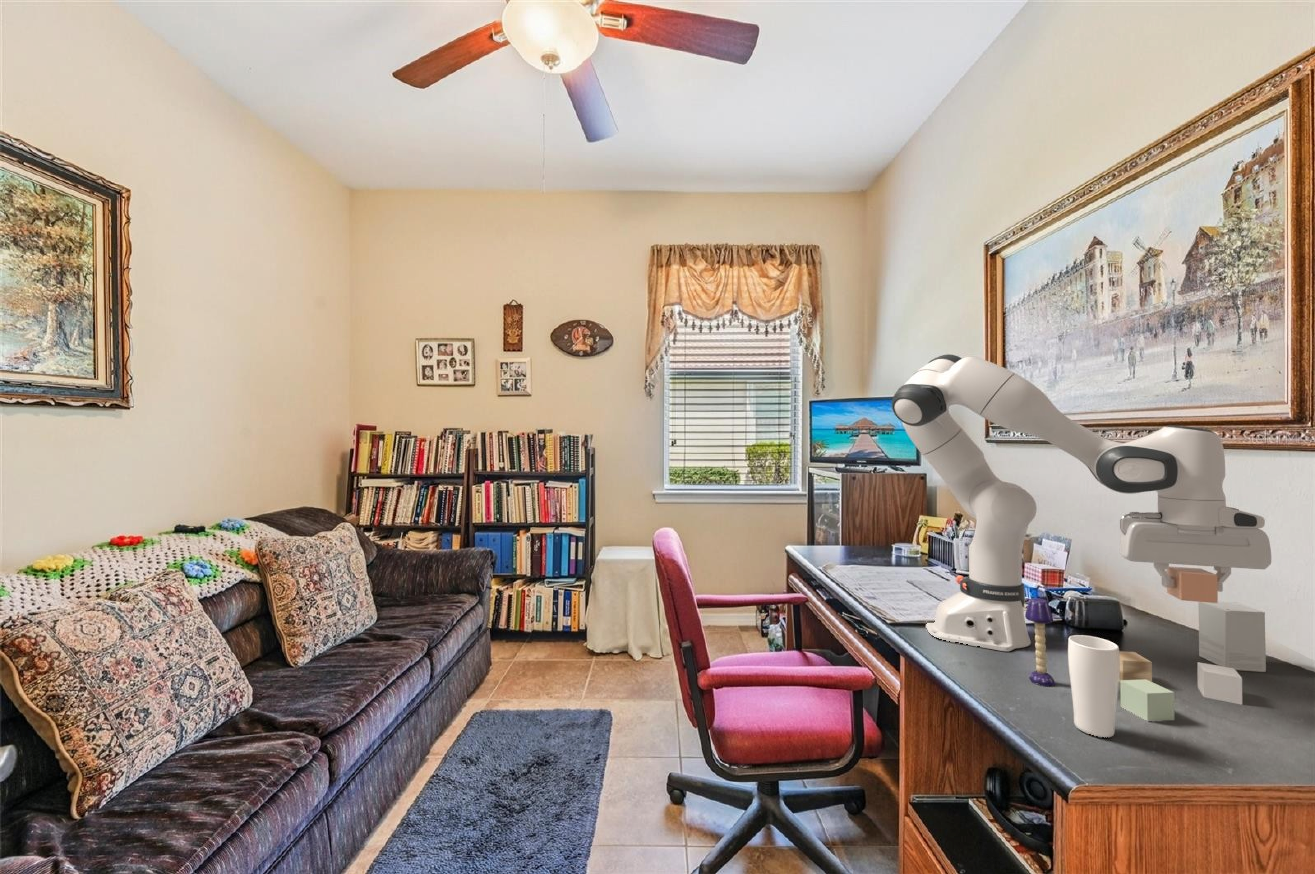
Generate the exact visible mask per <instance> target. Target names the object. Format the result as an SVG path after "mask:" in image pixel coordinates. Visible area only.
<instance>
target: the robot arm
mask: <svg viewBox="0 0 1315 874" xmlns="http://www.w3.org/2000/svg"><path fill="white" fill-rule="evenodd" d="M890 404H891V410H892V412H893V414H894V415H895V417H896V418H897V419H898V420H899V421H900V422H901V423H902V426H903V428H904V430H905V432H906V434H907V435H908V437H909V439H910V440H911V442H912V443H913V444H914V446H915V447H916V449H917V450H918V451H919V452H920V454H921V455H922V456H923V457H924V458H925V459H926V460H927V462H928V463H929V464H930V465H931V467H932V468H933V469H934V470H935V471H936V473H937V474H938V475H939V477H941V479H942V480H943V481H944V483H945V484H946V486H947V487H948V489H949V490H950V492H951V494H952V495H953V496H954V498H955V499H956V501H957V502H958V503H959V505H960V506H961V508H962V509H963V511H964V512H965V513H966V514H967V515H968V516H970V517H971V518H973V519H975V520H976V524H975V528H974V529H975V530H974V535H973V538H972V541H971V543H970V544H969V545H968V576H967V577H964V576H963V575H957V576H955V581H956V582H957V584H958V585H959V589H960V590H959V591H958V592H957V593H955V594H953V595H951V596H950V597H949V596H948V597H947V598H945V599H944V600H942V601H941V602H939V604H938V605H937V608H936V611H935V616H934V618H935V622H934V623H927V624H926V623H925V629H926V628H927V630H928V632H929V633H930V634H931V635H933V636H934V637H937V638H939V639H942V640H941V641H943V640H946V641H945V642H949V641H950V642H949V643H955V642H959V643H958V644H960V643H963V644H962V645H966V644H968V645H967V646H973V647H977V646H980V647H979V648H984V649H989V650H990V649H991V650H994V651H995V650H996V651H1000V652H1001V651H1002V652H1010V651H1013V650H1015V649H1022V648H1026V647H1028V646H1030V645H1031V643H1032V641H1031V639H1030V636H1029V633H1028V629H1027V625H1026V620H1025V619H1026V617H1025V613H1024V607H1025V603H1026V589H1025V584H1024V583H1023V580H1022V579H1023V578H1022V577H1023V571H1022V570H1023V548H1024V542H1025V539H1026V535H1027V531H1028V528H1029V525H1030V524H1031V523H1032V522H1033V521H1034V519H1035V517H1036V513H1037V511H1038V510H1037V509H1038V508H1037V503H1036V501H1035V499H1034V497H1033V495H1031V494H1030V493H1029V492H1028V491H1027V490H1026V489H1024V488H1023V487H1021V485H1017V484H1016V483H1012V482H1006V481H1003V480H1001V479H1000V478H999V477H997V476H996V475H995V473H994V471H993V470H992V468H991V467H990V466H989V465H990V464H988V462H987V460H986V458H985V455H984V453H983V451H982V450H981V449H980V448H979V446H978V445H977V444H976V443H975V442H974V440H972V438H971V437H970V435H968V434H967V432H966V431H965V430H964V429H963V428H962V427H961V426H960V424H958V422H957V421H956V420H955V419H954V418H953V416H951V414H950V411H949V409H950V407H951V406H954V405H960V406H962V407H963V406H964V407H965V408H967V409H969V410H970V411H972V412H974V413H975V414H977V415H978V416H980V417H981V418H983V419H985V420H987V421H988V422H991V423H993V424H994V425H997V426H1000V427H1002V428H1004V429H1007V430H1009V431H1011V432H1016V433H1021V434H1025V435H1030V436H1033V437H1036V438H1039V439H1042V440H1044V441H1046V442H1048V443H1049V444H1051V445H1053V446H1055V447H1057V448H1058V449H1060V450H1062V451H1064V452H1065V453H1067V454H1068V455H1070V456H1072V457H1074V458H1075V459H1076V460H1078V461H1080V462H1081V463H1083V464H1084V465H1085V466H1086V467H1087V468H1088V470H1089V471H1090V473H1091V474H1092V476H1093V477H1094V478H1095V480H1096V481H1097V482H1099V483H1100V484H1101V485H1103V486H1105V487H1106V488H1107V489H1109V490H1111V491H1112V492H1113V491H1114V492H1116V493H1120V494H1124V495H1125V494H1127V495H1129V494H1130V495H1135V494H1140V493H1146V492H1154V491H1155V492H1156V493H1157V511H1156V512H1153V511H1152V512H1139V511H1130V512H1129V513H1127V514H1124V515H1123V516H1121V518H1120V520H1119V530H1120V532H1121V535H1120V541H1119V554H1120V555H1121V557H1123V559H1125V560H1127V561H1129V562H1132V563H1133V562H1135V563H1149V564H1151V563H1152V564H1153V567H1154V569H1155V570H1156V572H1157V573H1158V575H1160V577H1161V585H1162V587H1163V588H1165V589H1167V588H1176V587H1177V585H1176V583H1177V579H1175V578H1173V577H1170V576H1169V575H1168V573H1167V572H1166V569H1169V567H1170V564H1171V565H1183V566H1184V565H1185V566H1197V567H1198V566H1203V567H1213V570H1214V571H1216V573H1215V574H1216V575H1217V583H1218V593H1219V592H1220V593H1222V592H1223V590H1224V589H1223V588H1224V586H1223V584H1224V582H1226V580H1227V579H1229V577H1230V576H1231V575H1232V568H1235V569H1250V570H1266V569H1267V568H1269V566H1271V564H1272V549H1271V543H1270V539H1269V536H1268V535H1267V533H1266V532H1265V531H1264V530H1263V529H1262V528H1264V527H1265V522H1266V521H1265V518H1264V517H1263V516H1261V515H1258V514H1255V513H1251V512H1246V511H1242V510H1240V509H1239V508H1237V507H1235V508H1234V507H1229V506H1227V504H1226V503H1227V502H1226V501H1227V497H1226V494H1225V493H1224V488H1223V483H1224V480H1225V477H1226V457H1225V449H1224V445H1223V442H1222V439H1221V437H1220V435H1218V434H1217V433H1216V432H1215V431H1212V430H1210V429H1207V428H1202V427H1194V426H1185V425H1166V426H1162V428H1160V429H1158V430H1157V431H1154V432H1152V433H1150V434H1147V435H1145V436H1142V437H1139V438H1137V439H1133V440H1130V441H1125V442H1124V441H1118V440H1112V439H1108V438H1107V437H1106V438H1105V437H1103V436H1101V435H1100V434H1098V433H1096V432H1094V431H1092V430H1090V429H1088V428H1087V427H1086V426H1083V425H1081V424H1080V423H1077V422H1076V421H1074V420H1073V419H1071V418H1069V417H1068V416H1067V415H1065V414H1064V413H1062V412H1061V411H1060V410H1059V409H1058V408H1057V407H1056V406H1055V405H1054V404H1053V402H1052V401H1051V400H1050V399H1049V396H1047V395H1046V394H1045V393H1044V392H1043V391H1042V390H1041V389H1039V388H1038V387H1037V386H1036V385H1035V384H1033V383H1032V382H1031V381H1029V380H1027V379H1026V378H1024V377H1023V376H1021V375H1020V374H1017V373H1015V372H1014V371H1012V370H1010V369H1008V368H1006V367H1003V366H1001V365H999V364H996V363H994V362H991V361H988V360H986V359H983V358H979V357H976V356H965V357H963V358H962V357H960V356H959V355H956V354H955V355H954V354H942V355H939V356H937V357H934V358H933V359H931V360H930V361H928V363H926V364H925V365H924V366H922V367H920V368H919V369H918V370H916V371H915V372H914V373H913V374H912V375H911V377H910V378H909V379H908V380H906V382H905V383H904V384H903V385H901V386H900V387H899V388H898V389H897V391H896V392H895V393H894V395H893V397H892V399H891V403H890ZM927 630H926V631H927ZM928 632H927V633H928ZM929 633H928V634H929ZM930 634H929V635H930ZM931 635H930V636H931ZM934 637H933V638H934Z"/></svg>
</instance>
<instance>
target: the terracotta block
mask: <svg viewBox="0 0 1315 874" xmlns="http://www.w3.org/2000/svg"><path fill="white" fill-rule="evenodd" d="M1165 571H1166V572H1167V573H1168V575H1169V576H1170V577H1173V578H1175V579H1177V583H1176V585H1177V587H1176V588H1166V593H1167V594H1169V595H1171V596H1172V597H1174V598H1176V599H1179V600H1180V601H1183V602H1185V601H1186V602H1197V603H1198V602H1209V603H1218V602H1219V600H1218V599H1219V597H1218V594H1219V592H1218V583H1217V575H1216V573H1213V572H1211V571H1208V570H1205V569H1203V568H1199V567H1185V566H1184V567H1183V566H1182V567H1181V566H1180V567H1179V566H1169V569H1165Z"/></svg>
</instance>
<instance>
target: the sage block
mask: <svg viewBox="0 0 1315 874" xmlns="http://www.w3.org/2000/svg"><path fill="white" fill-rule="evenodd" d="M1119 683H1120V685H1119V686H1120V708H1121V707H1122V709H1123V708H1124V710H1125V709H1126V710H1125V711H1127V712H1129V711H1130V712H1129V713H1131V712H1132V713H1133V715H1134V714H1135V716H1136V717H1138V716H1139V717H1138V718H1140V717H1141V718H1140V719H1142V720H1143V719H1144V721H1145V720H1147V721H1152V722H1157V721H1156V720H1174V721H1175V692H1174V691H1173V690H1170V689H1168V688H1165V687H1163V686H1161V685H1159V684H1158V683H1154V682H1153V681H1152V682H1151V681H1148V680H1146V679H1143V680H1120V682H1119ZM1132 713H1131V714H1132ZM1153 720H1154V721H1153ZM1147 721H1146V722H1147Z"/></svg>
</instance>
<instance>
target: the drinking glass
mask: <svg viewBox="0 0 1315 874" xmlns="http://www.w3.org/2000/svg"><path fill="white" fill-rule="evenodd" d="M1067 640H1068V641H1067V665H1068V673H1069V674H1068V675H1069V680H1070V681H1069V682H1070V691H1071V698H1072V700H1071V701H1072V709H1073V711H1072V712H1073V724H1074V726H1075V727H1076V728H1077V729H1078V730H1080V731H1081V732H1083V733H1084V734H1086V735H1089V734H1091V735H1090V736H1092V735H1094V736H1093V737H1096V736H1098V738H1102V737H1104V738H1105V737H1106V738H1107V737H1108V738H1111V737H1113V736H1114V735H1115V731H1116V727H1115V725H1116V723H1115V721H1116V711H1117V702H1118V694H1119V693H1118V692H1119V683H1120V682H1119V672H1120V658H1119V651H1120V648H1119V645H1117V644H1116V643H1114V642H1112V641H1110V640H1109V639H1104V638H1102V637H1101V638H1100V637H1097V636H1092V635H1083V634H1081V635H1080V634H1075V635H1070V636H1069V637H1068V639H1067ZM1104 738H1103V739H1104ZM1108 738H1107V739H1108Z"/></svg>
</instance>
